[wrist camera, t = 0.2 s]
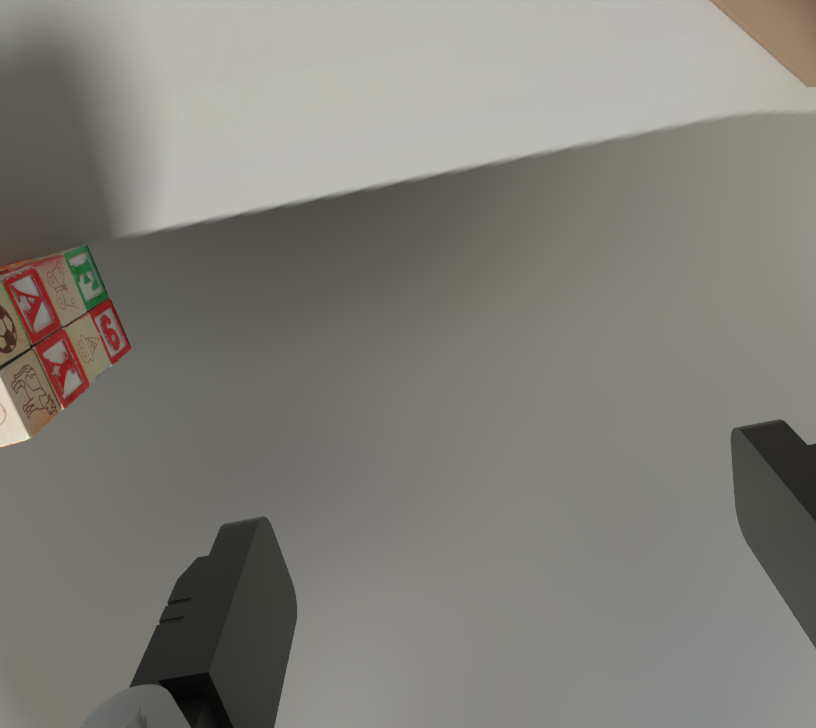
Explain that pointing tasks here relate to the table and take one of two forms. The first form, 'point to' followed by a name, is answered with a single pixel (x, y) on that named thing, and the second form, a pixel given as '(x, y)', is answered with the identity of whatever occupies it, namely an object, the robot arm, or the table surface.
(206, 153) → the table surface
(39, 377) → the stack of blocks
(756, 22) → the board
